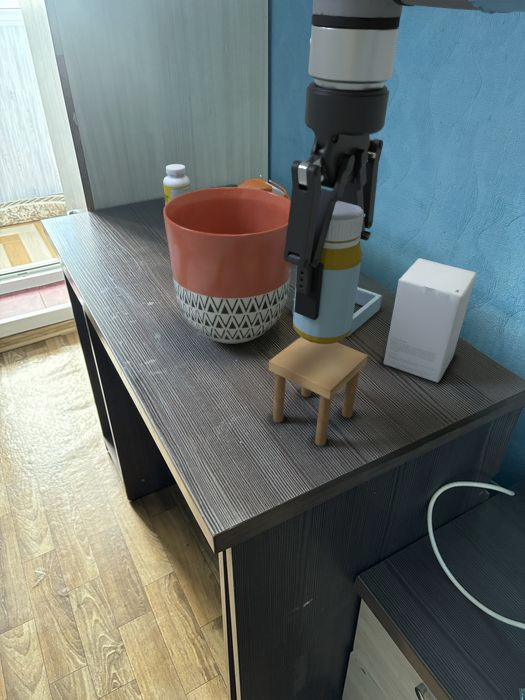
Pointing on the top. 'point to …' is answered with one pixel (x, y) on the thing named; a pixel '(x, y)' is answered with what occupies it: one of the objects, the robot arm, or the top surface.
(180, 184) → the pill bottle
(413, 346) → the rectangular carton
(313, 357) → the stool
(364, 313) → the square tray frame
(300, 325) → the bottle
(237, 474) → the top surface
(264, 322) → the planter
